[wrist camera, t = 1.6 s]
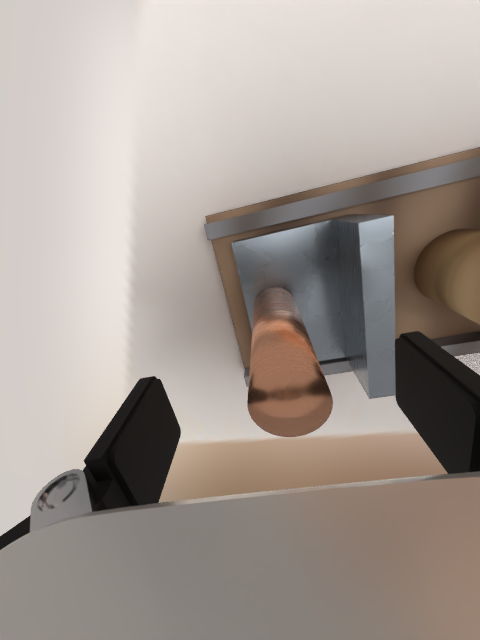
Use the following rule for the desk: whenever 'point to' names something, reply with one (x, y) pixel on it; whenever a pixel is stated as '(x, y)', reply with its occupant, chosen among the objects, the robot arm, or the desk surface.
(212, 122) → the desk surface
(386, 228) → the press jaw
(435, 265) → the tan round peg
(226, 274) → the press base
